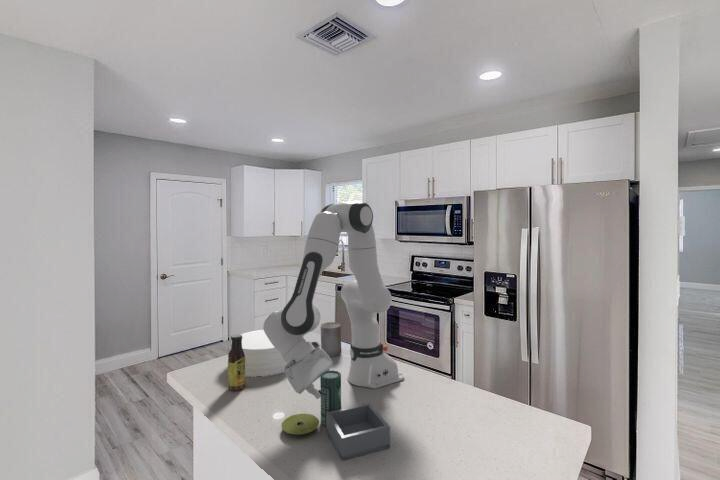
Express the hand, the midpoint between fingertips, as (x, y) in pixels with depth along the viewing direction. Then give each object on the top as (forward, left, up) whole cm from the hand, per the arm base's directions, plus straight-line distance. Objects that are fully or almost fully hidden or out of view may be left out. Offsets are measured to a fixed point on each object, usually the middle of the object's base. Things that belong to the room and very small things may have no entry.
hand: (327, 390), depth 112 cm
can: (-1, +1, -10) cm, 10 cm away
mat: (+9, +1, -10) cm, 13 cm away
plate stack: (+12, -56, -10) cm, 58 cm away
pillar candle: (-19, -56, -10) cm, 60 cm away
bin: (-5, +13, -10) cm, 17 cm away
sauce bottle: (+25, -35, -10) cm, 44 cm away
